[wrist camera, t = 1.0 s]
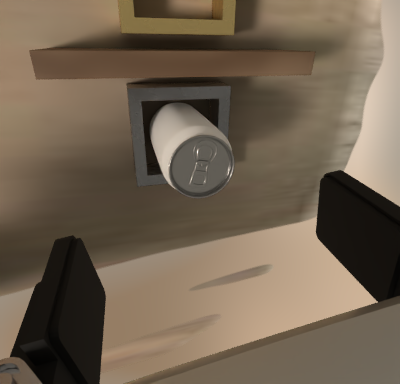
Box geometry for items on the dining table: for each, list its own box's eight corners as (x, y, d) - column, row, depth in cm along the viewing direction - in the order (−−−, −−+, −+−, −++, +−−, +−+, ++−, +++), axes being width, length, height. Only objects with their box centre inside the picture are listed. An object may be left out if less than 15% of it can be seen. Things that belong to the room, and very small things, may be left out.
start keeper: (216, 166, 37) (225, 177, 34) (135, 174, 35) (137, 186, 32) (220, 81, 32) (230, 86, 29) (126, 83, 30) (127, 88, 27)
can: (208, 106, 33) (248, 135, 23) (196, 158, 36) (228, 205, 26) (152, 96, 31) (170, 123, 21) (145, 152, 34) (157, 200, 24)
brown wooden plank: (276, 68, 33) (311, 75, 27) (53, 71, 28) (36, 79, 22) (278, 49, 32) (315, 51, 26) (48, 48, 27) (29, 50, 21)
